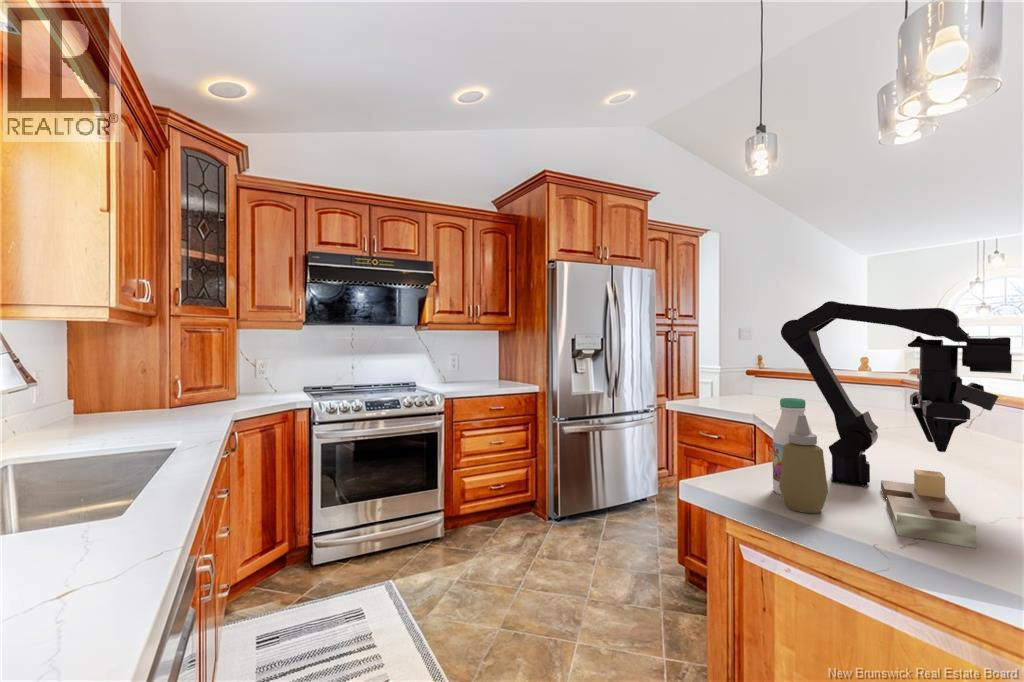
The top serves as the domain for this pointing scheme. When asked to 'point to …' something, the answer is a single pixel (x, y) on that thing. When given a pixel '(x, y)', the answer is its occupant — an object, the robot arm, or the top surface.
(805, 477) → the squeeze bottle
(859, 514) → the top surface
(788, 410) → the milk bottle
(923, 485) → the block
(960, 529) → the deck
